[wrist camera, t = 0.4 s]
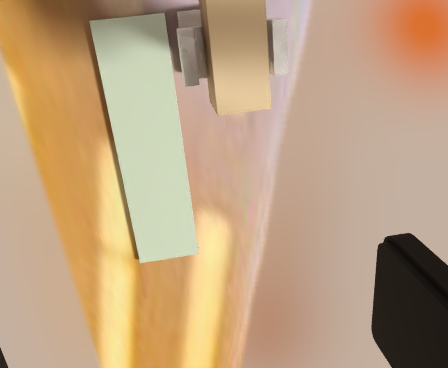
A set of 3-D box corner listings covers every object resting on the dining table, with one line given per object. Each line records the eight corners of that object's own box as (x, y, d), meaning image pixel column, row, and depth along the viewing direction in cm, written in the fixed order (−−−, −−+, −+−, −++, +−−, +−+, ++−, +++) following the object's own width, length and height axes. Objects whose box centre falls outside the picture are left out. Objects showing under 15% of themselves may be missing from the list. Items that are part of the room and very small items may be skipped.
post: (170, 12, 34) (175, 10, 22) (241, 4, 34) (285, -2, 22) (178, 74, 36) (187, 104, 24) (246, 66, 36) (288, 91, 24)
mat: (90, 20, 33) (89, 20, 33) (164, 12, 34) (164, 12, 33) (140, 259, 42) (140, 263, 42) (198, 250, 43) (198, 253, 42)
